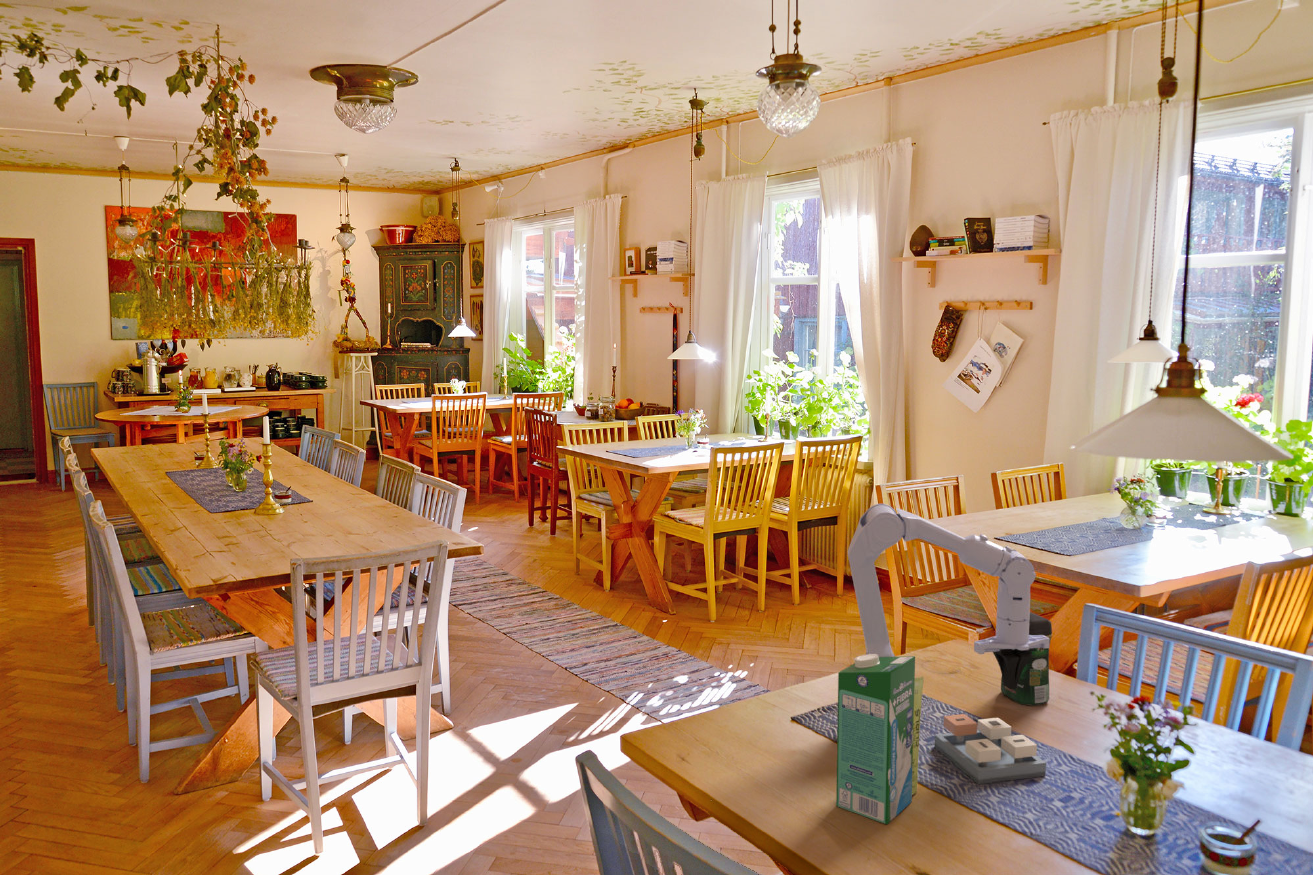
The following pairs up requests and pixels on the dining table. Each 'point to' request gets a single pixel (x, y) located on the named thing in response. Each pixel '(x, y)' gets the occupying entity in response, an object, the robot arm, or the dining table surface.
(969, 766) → the keypad base
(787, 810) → the dining table surface
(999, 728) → the key
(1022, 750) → the key
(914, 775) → the tube
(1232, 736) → the dining table surface
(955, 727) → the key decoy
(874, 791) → the milk carton
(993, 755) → the key
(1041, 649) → the coffee jar
